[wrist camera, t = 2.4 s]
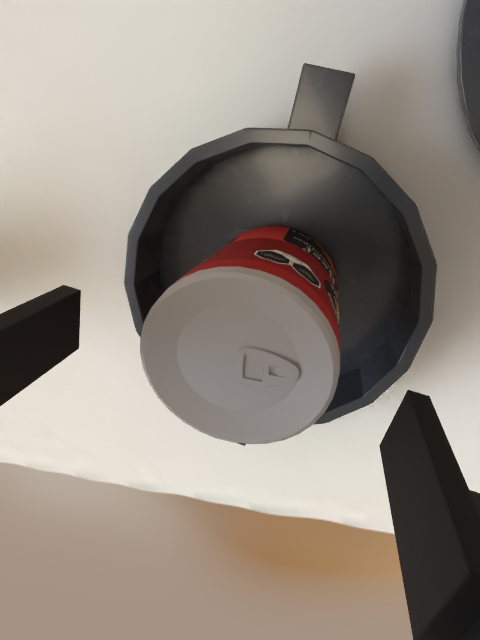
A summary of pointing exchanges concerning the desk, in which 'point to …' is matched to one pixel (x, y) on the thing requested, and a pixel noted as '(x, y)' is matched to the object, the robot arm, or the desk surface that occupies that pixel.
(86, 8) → the desk surface
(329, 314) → the canned food
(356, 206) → the pan
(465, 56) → the pan lid
